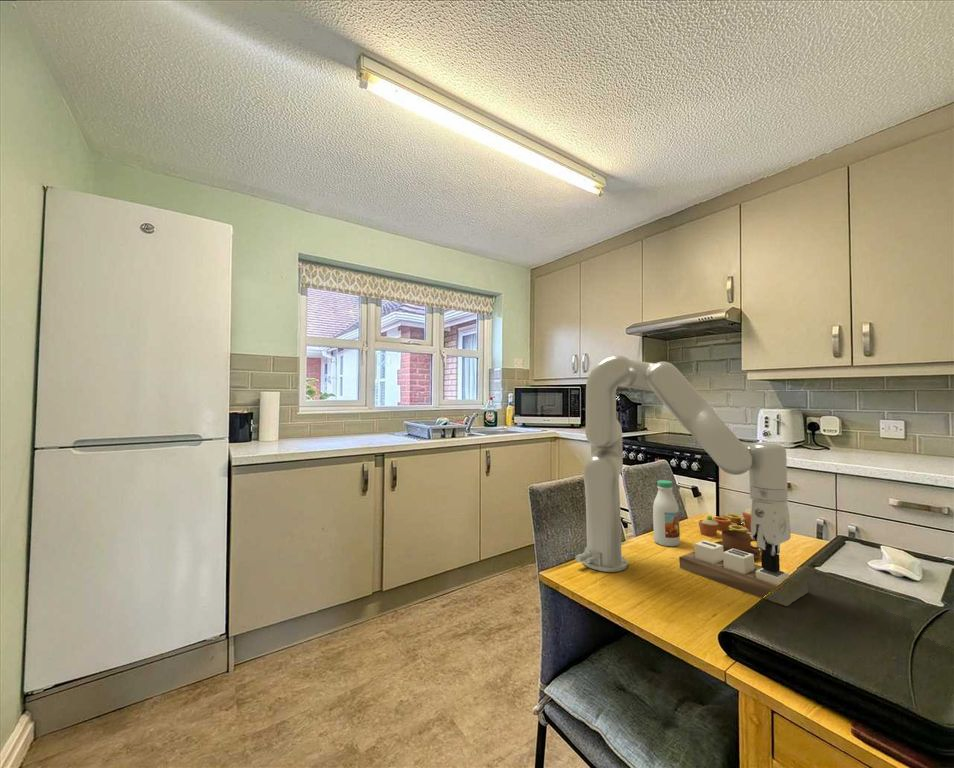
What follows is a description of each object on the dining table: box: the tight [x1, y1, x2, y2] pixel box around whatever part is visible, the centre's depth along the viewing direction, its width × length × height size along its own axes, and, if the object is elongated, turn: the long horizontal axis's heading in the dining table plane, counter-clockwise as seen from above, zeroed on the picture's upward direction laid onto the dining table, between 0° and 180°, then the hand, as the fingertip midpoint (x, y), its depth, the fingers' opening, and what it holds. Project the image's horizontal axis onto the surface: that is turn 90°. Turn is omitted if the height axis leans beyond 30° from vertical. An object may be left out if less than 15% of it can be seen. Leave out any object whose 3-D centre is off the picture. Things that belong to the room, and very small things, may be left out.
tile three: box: [756, 568, 790, 585], centre depth 96 cm, size 5×5×4 cm
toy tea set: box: [698, 507, 752, 538], centre depth 139 cm, size 26×16×10 cm, turn 122°
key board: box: [678, 550, 791, 599], centre depth 103 cm, size 12×25×3 cm, turn 32°
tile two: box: [723, 549, 755, 575], centre depth 103 cm, size 5×5×4 cm
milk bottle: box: [652, 479, 681, 547], centre depth 130 cm, size 8×8×20 cm
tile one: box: [694, 540, 723, 564], centre depth 109 cm, size 5×5×4 cm
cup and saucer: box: [714, 530, 761, 559], centre depth 120 cm, size 12×12×6 cm
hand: (770, 569), depth 96 cm, fingers closed
